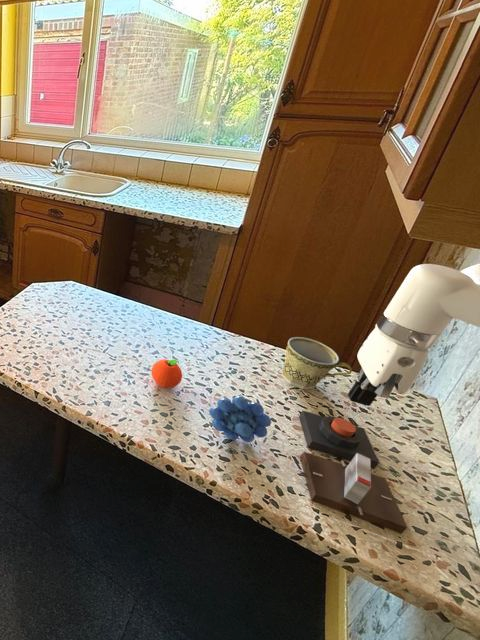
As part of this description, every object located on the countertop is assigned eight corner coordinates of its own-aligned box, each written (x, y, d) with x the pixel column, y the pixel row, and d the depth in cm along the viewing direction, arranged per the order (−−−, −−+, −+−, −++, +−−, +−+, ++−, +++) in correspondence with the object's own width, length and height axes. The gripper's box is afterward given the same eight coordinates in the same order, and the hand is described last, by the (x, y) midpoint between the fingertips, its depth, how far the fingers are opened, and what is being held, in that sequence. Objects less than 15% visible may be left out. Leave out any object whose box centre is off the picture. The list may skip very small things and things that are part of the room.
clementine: (162, 368, 106) (168, 347, 103) (186, 385, 101) (194, 364, 97) (142, 380, 102) (148, 359, 99) (167, 398, 97) (174, 376, 94)
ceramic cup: (271, 381, 102) (286, 351, 97) (276, 360, 109) (290, 331, 104) (336, 408, 95) (356, 377, 90) (337, 383, 101) (355, 353, 97)
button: (349, 427, 86) (353, 421, 85) (354, 440, 83) (358, 434, 82) (328, 420, 87) (331, 415, 86) (333, 433, 84) (336, 427, 83)
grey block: (345, 468, 79) (357, 451, 76) (358, 475, 78) (371, 458, 75) (343, 497, 74) (356, 480, 71) (358, 504, 73) (371, 487, 70)
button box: (359, 435, 88) (367, 422, 86) (374, 469, 81) (383, 456, 79) (298, 416, 92) (305, 404, 90) (307, 447, 85) (315, 435, 83)
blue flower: (205, 448, 85) (222, 409, 79) (198, 422, 91) (214, 384, 85) (267, 462, 82) (290, 422, 77) (256, 435, 88) (276, 396, 82)
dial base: (378, 480, 79) (384, 474, 78) (403, 538, 70) (410, 531, 69) (298, 454, 84) (302, 447, 83) (312, 504, 75) (317, 498, 74)
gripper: (456, 362, 65) (397, 436, 74) (415, 313, 77) (368, 382, 85) (396, 348, 68) (345, 421, 77) (366, 302, 80) (325, 370, 88)
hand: (358, 400), depth 81 cm, fingers closed
